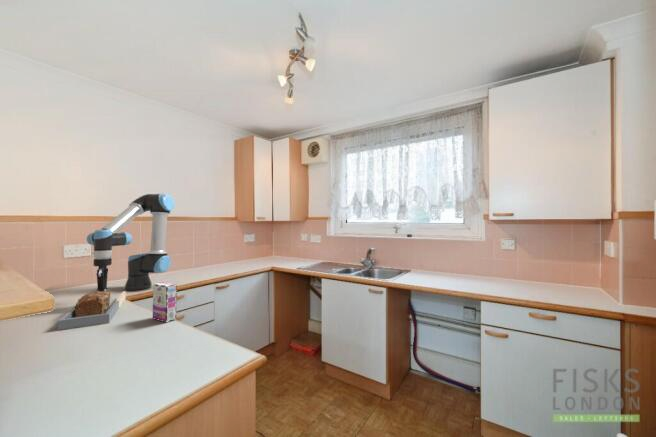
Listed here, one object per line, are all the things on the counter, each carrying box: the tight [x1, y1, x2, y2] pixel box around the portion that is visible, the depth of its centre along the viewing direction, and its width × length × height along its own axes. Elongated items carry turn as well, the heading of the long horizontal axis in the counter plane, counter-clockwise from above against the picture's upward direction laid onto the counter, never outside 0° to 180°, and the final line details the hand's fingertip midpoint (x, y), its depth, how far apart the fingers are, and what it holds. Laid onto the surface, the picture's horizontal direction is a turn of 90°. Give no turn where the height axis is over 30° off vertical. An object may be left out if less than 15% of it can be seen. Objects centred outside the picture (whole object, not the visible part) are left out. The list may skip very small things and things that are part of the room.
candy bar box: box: [152, 281, 178, 322], centre depth 126 cm, size 11×5×16 cm, turn 62°
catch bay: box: [57, 290, 127, 331], centre depth 137 cm, size 17×46×4 cm, turn 29°
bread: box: [74, 291, 111, 318], centre depth 135 cm, size 19×11×10 cm, turn 29°
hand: (102, 301), depth 146 cm, fingers closed
